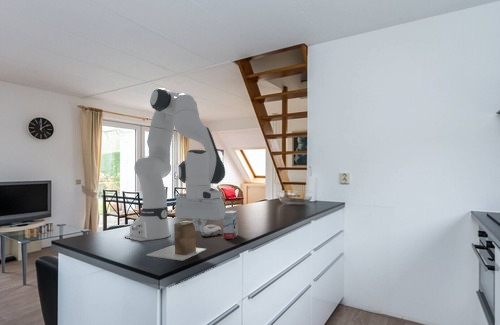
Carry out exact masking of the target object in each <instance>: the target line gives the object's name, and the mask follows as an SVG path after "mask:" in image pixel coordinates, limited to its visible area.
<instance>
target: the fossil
mask: <svg viewBox="0 0 500 325" xmlns="http://www.w3.org/2000/svg"><path fill="white" fill-rule="evenodd" d="M221 231H222V228H221V226H219V225H217V224H205V226H204V231H202V232H201V231H200V232H201V235H202V236H203V237H211V236H212V237H213V236H214V237H215V236H218V233H219V232H221Z"/></svg>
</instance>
